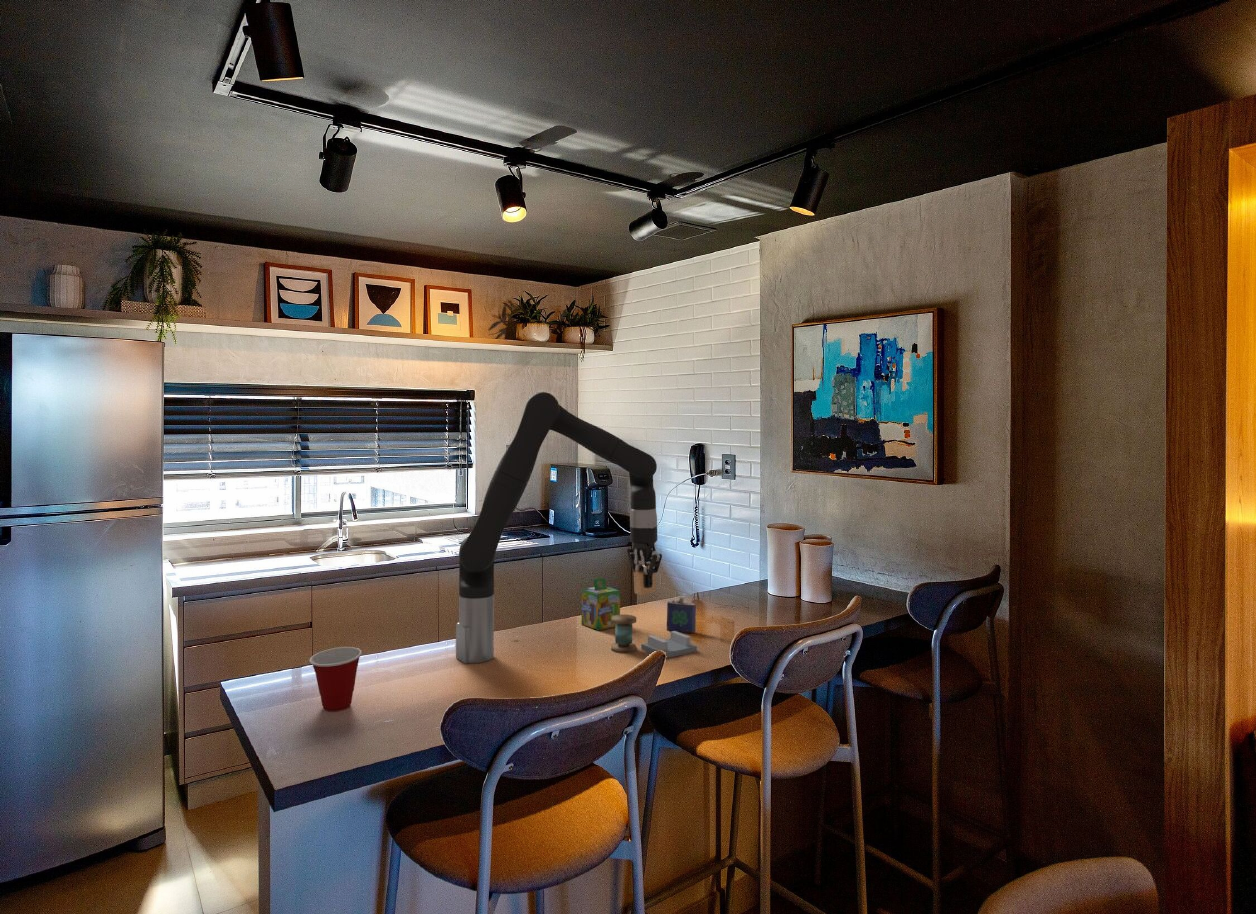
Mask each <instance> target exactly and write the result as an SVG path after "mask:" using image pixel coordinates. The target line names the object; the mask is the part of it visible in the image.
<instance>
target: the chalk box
mask: <svg viewBox="0 0 1256 914" xmlns="http://www.w3.org/2000/svg"><path fill="white" fill-rule="evenodd" d="M606 582H607V581H606V578H605V577H601V578H595V579H594V580H593V585H594V586H592V587H586V588H582V589H581V623H580V624H581V626H585V627H587V628H590V629H592V630H593V629H594V630H596V631H601V630H602V631H603V630H607V629H611V628H615V624H616V623H613V622H612V616H614V615H621V590H618V589H615V588H613V587H609V586H607V583H606ZM599 583H601V584H602V585H601V586H600V585H599V586H598V584H599Z"/></svg>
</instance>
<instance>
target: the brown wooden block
mask: <svg viewBox="0 0 1256 914" xmlns="http://www.w3.org/2000/svg"><path fill="white" fill-rule="evenodd" d="M648 570H649V568H648ZM644 575H645V573H644V570H641V571H633V589H634V594H636V595H638V596H643V595H647V594H648V595H649V594H651V593H656V581H655V580H656V577H655V573H653V575H652V581H653V584H652V587H651V588H645V576H644Z"/></svg>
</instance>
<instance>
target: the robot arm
mask: <svg viewBox="0 0 1256 914" xmlns="http://www.w3.org/2000/svg"><path fill="white" fill-rule="evenodd" d="M524 405H525V406H524V411H523V414H522V416H521V419H520V422H519V425H518V428H517V431H516V433H515V435H514V437H513V439H512V440H511V442H510V444H509V445H508V447H507V449H506V450H505V452H504V454H502V457H501V458H500V461H499V463H498V465H497V466H496V469H495V471H494V472H493V475H492V477H491V479H490V482H489V484H488V487H487V490H486V493H485V496H484V499H483V502H482V507H481V508H480V509H481V510H480V513H479V515H478V518H477V520H476V522H475V523H474V526H473V527H472V530H470V531H471V532H470V533H469V535H468V536H467V537H465V538H464V539H463V540H462V542H461V543H460V546H459V553H458V558H459V560H458V561H459V562H458V564H459V567H458V568H459V569H458V570H459V572H458V573H459V574H458V575H459V576H458V622H456V623H455V658H456V659H458V661H460V662H462V663H463V664H479V663H485V662H489V661H491V660H492V659H494V657H495V655H494V654H495V647H494V646H495V645H494V644H495V641H494V640H495V639H494V638H495V637H494V635H495V625H494V624H495V556H496V553H497V550H498V546H499V543H500V540H501V537H502V534H503V532H504V530H505V527H506V526H507V523H508V522H509V520H510V518H511V517H512V515H513V514H514V512H515V510H516V508H517V506H518V504H519V503H520V500H521V498H522V496H523V494H524V492H525V490H526V487H527V485H528V484H529V481H530V478H531V476H532V473H533V471H534V468H535V465H536V462H537V458H538V455H539V452H540V449H541V447H542V445H543V442H544V441H545V439H546V437H547V435H548V434H549V432H550V431H553V432H555V433H558V434H559V435H562V436H564V437H566V438H568V439H570V440H571V441H573V442H575V443H576V444H578V445H580V446H582V448H584V449H586V450H588V451H589V452H591V453H593V454H595V455H596V456H598V457H599V458H601V459H604V460H605V461H607V462H609V463H612V464H614V465H617V466H619V468H621V469H623V470H625V471H627V472H628V476H629V477H628V478H629V485H630V513H629V522H630V523H629V530H630V531H629V533H630V534H629V535H630V539H629V540H630V542H631V543H633V544H632V547H631V548H627V551H626V552H627V556H628V559H629V563H630V565H631V569H632V570H634V572H636V571H641V570H644V573H645V575H644V576H645V588H651V587H652V584H653V581H652V575H653V573H654V574H655V573H656V574H657V573H658V572H659V568H660V564H661V562H662V558H663V555H662V553H657V551H656V550H657V549H656V546H655V544H656V543H657V541H658V514H657V498H656V497H657V496H656V490H655V488H654V475H655V473H656V472H657V467H658V466H657V461H656V459H655V458H654V456H652V455H651V454H649V453H647V452H645V451H644V450H641V449H639V448H637V447H636V446H633V445H631V444H629V443H627V442H626V441H625V440H623V439H622V438H620V437H618V436H616V435H614V434H613V433H611V432H609V431H608V430H605V429H603V428H601V427H599V426H597V425H594V424H592V423H591V422H588V421H585V420H583V419H582V418H580V417H578V416H576V415H574V414H573V413H571V412H570V411H568V410H566V409H565V408H564V407H563V406H562V405H560V404H559V402H558V400H557V398H556V397H555V396H554V395H553V394H551V393H550V392H547V391H546V392H545V391H541V392H536V393H533V394H532V395H531V396H530V397H529V398H528V399H527V401H526V403H525V404H524ZM648 569H649V570H648Z"/></svg>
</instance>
